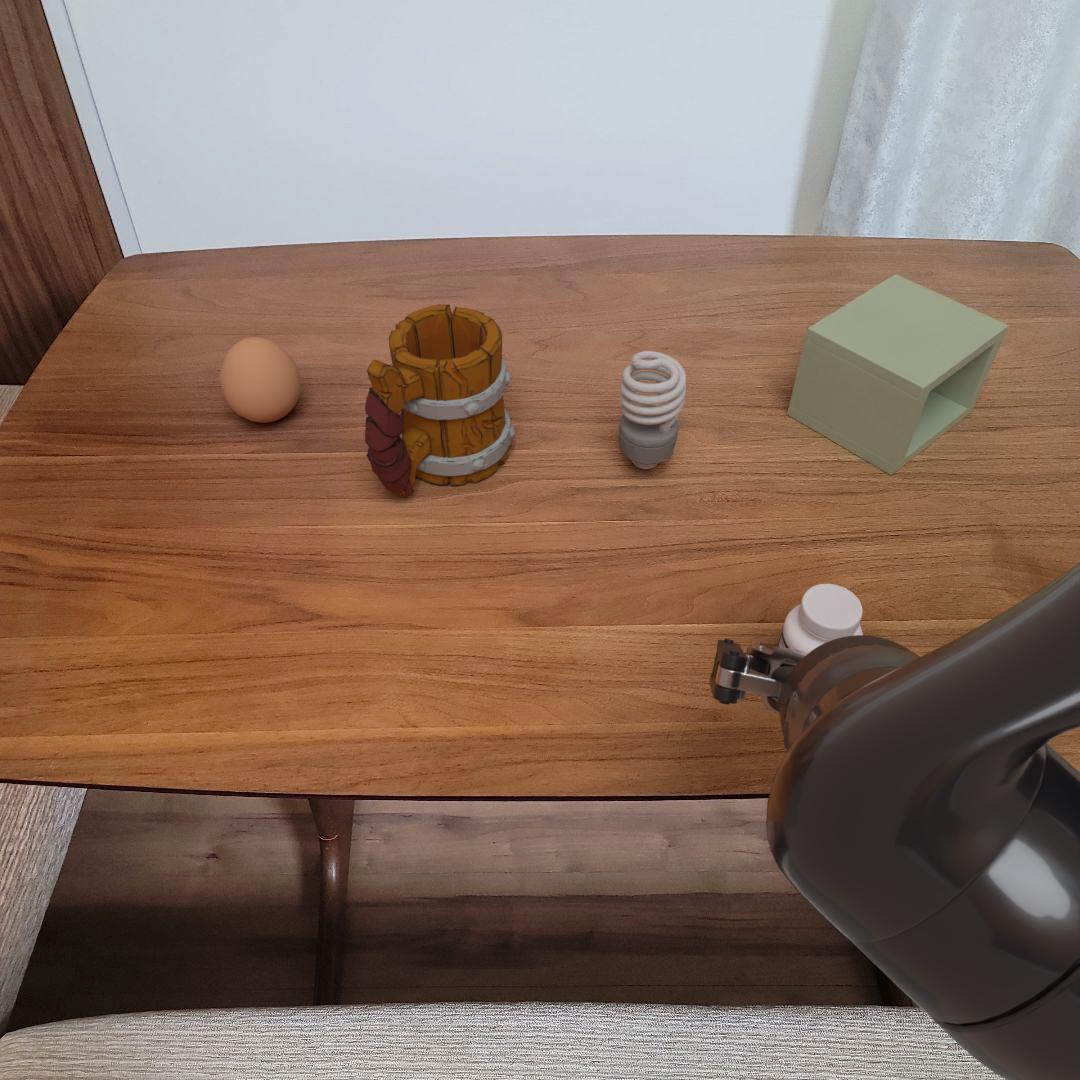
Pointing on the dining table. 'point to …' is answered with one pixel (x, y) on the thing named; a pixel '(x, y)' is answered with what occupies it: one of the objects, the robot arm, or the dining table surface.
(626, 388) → the light bulb
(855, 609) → the pill bottle
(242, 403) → the egg
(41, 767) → the dining table surface
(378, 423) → the mug
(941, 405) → the shelf
